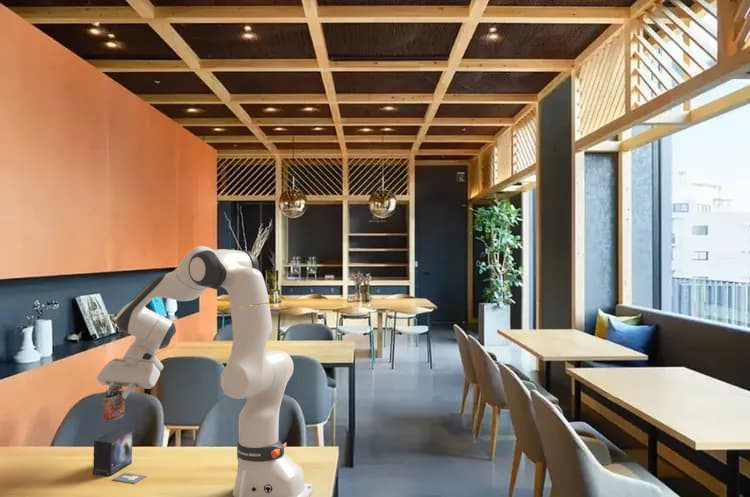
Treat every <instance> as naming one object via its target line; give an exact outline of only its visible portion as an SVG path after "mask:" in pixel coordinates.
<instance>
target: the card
mask: <svg viewBox="0 0 750 497" xmlns="http://www.w3.org/2000/svg"><path fill="white" fill-rule="evenodd" d="M145 478H147V475H144V474H143V475H142V474H137V473H130V472H129V473H128V472H123V473H122V474H119V475H118V476H116V477H114V478H113V479H111V480H112V481H116V482H122V483H128V484H138V483H139V482H140V481H142V480H144V479H145Z"/></svg>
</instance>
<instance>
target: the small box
mask: <svg viewBox="0 0 750 497" xmlns="http://www.w3.org/2000/svg"><path fill="white" fill-rule="evenodd" d="M132 461H133V431H129V430H120V429H116V430H113V431H111V432H109V433H106V434H105V435H102V436H100V437H98V438H96V439H94V440H93V462H92V463H93V465H92V475H99V476H104V477H105V476H106V477H111V476H112V475H114V474H116V473H117V472H119V471H121V470H123V469H124V468H126V467H128V466H131V465H132V463H133V462H132Z"/></svg>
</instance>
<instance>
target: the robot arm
mask: <svg viewBox="0 0 750 497" xmlns="http://www.w3.org/2000/svg"><path fill="white" fill-rule="evenodd" d="M220 288H223V289H225V291H227V292H226V293H228V297H229V299H228V300H229V307H230V315H231V324H232V345H231V351H230V356H229V357H228V358H229V359H228V361H227V363H226V365H225V367H223V370H222V372H221V374H220V386H221V388H222V391H223V393H225V395H226V396H228V397H229V398H231V399H236V400H239V399H246V403H245V404H244V406H243V408H242V409H241V410H240V412H239V416H238V441H237V444H236V445H237V446H236V457H237V459H236V460H237V469H236V470H237V471H236V476H235V481H234V486H233V488H232V496H233V497H310V496H311V495H312V494H311V493H313V490H314V489H313V484H312V483H311V482H307V481H306V479H305V473H304V470H303V468H302V466H300V465H299V463H297V462H296V461H294V460H293V459H292V458H291V457H290V456H288V455H287V454H286V453H285V448H287V442H284V443H282V442H281V440H280V438H279V428H280V427H279V422H280V421H279V420H280V412H281V411H280V410H281V404H282V401H283V398H284V394H285V390H286V387H287V384H288V383H289V380H291V378H292V376H293V373H294V369H295V367H294V362H293V359H292V357H291V356H290V354H288V353H287V352H286V351H284V350H274V349H273V350H271V349H270V350H266V349H267V344H268V339H269V338H270V336H271V334H272V332H273V327H274V326H273V321H272V320H273V319H272V313H271V312H272V311H271V306H270V298H269V293H268V289H267V286H266V282H265V279H264V276H263V273H262V272H261V271H260V264H259V260H258V258H257V256H256V254H254V252H250V251H249V250H243V249H237V250H236V249H226V248H222V249H221V248H220V249H219V248H218V249H213V248H211V247H208V246H206V245H199V246H195V247H193V248H192V249H191V250H190V251H189V252H188V253H187V254H186V255H185V256H184V257H183V258H182V259H181V261H180V262H179V264H178V265H177V266H176V268H175V269H174V270H173V271H170V272H167V273H159V274H158V275H157V276H155V277H154V278H153V279H152V280H151V281H150V282H149V283H148V284H147V285H146V286H145V287H143V289H142V290H141V291H140V292H139V293H138V294H136V296H135V297H134V298H133V299H131V300H130V301H129V303H127V304H125V305H124V306H123V307H122V308H120V310H119V312H118V314H117V316H116V319H115V322H116V323H115V324H116V326H117V328H118V330H119V332H123V333H124V334H125V333H126V334H128V335H131V336H134V337H135V339H134V342H133V343H132V344H130V345H129V347H128V349H127V351H126V352H125V354H124V355H123V357H122V358H117V357H116V358H114V359H112V360H109V361H108V362H107V363H106V364H105V365H104V366H103V368H102V369H101V371H100V372H99V373H98V375H97V376H96V378H97V381H98V382H99V383H100V384H101V385H103V386H108V389H109V388H110V387H114V386H117V385H122V387H126V389H124V390H121V391H122V392H121V394H120V395H119V397H120V398H121V399H124V400H126V399H127V397H128V396H129V395H130V394H131V393H133V392H134V391H135V389H147V390H149V389H152V388H154V387H155V385H156V384H157V382H158V380H159V378H160V376H161V372H162V371H163V369H164V365H163V363H162V362H161V361H160V359H158V358H157V356H156V355H157V352H158V351H160V350H162V349H165V348H167V347H168V346H169V345H170V342H171V340H172V338H173V337H174V336H175V334H176V332H177V330H176V325H175V323H174V321H172V320H171V319H169V318H167V317H166V316H163V315H161V314H159V313H157V312H155V311H154V310H151V309H149V308H147V307H146V306H147V305H148V304H149V303H150V302H151V301H152V300H153V299H155V298H166V299H170V300H174V301H178V302H190V301H193V300H194V301H195V300H196V299H198V298H199V297H200V296H201V295H203V293H204V292H205V291H206V289H212V290H218V289H220Z"/></svg>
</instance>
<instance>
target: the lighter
mask: <svg viewBox="0 0 750 497" xmlns="http://www.w3.org/2000/svg"><path fill="white" fill-rule="evenodd" d="M121 389H123V386H122V385H117V386H114V387H110V388H109V387H108V389H106V390H105V391H104V392H105V396H103V397H102V398H101V401H102V413H103V414H102V415H103V416H102V417H103V418H102V423H103V424H110V423H112V422H115V421H117V420H119V419H121V418H123V417H124V416H126V411H125V408H126V407H125V399H121V398H120V397H119V395H120V394H121V392H122V391H123V390H121Z"/></svg>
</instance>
